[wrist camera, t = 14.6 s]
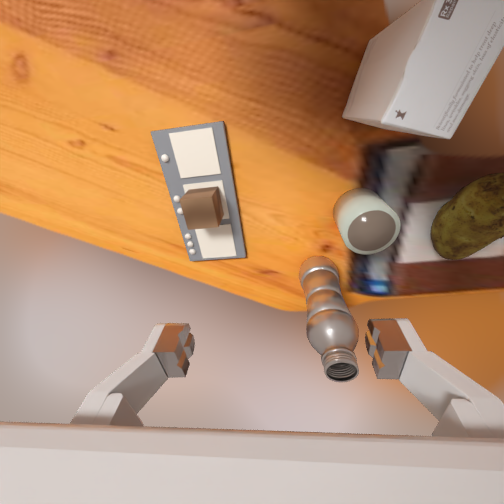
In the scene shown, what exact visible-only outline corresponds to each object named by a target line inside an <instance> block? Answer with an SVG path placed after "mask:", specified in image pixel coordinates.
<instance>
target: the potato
mask: <svg viewBox="0 0 504 504" xmlns="http://www.w3.org/2000/svg"><path fill="white" fill-rule="evenodd" d="M502 237H504V173H497V174H490V175H487V176H484V177H482V178H480V179H477V180H475V181H473V182H472V183H470V184H468V185H467V186H465V187H463V188H462V189H460V190H459V192H458V193H456V195H455V196H454V197H453V199H452V200H450V201H449V202H447V203H446V204H444V205H443V206H442V207H441V209H440V210H439V211H438V213H437V215H436V217H435V219H434V221H433V224H432V228H431V238H432V242H433V246H434V248H435V250H436V251H437V252H438V254H439V255H440V256H441V257H443V258H445V259H451V260H457V259H462V258H465V257H467V256H470V255H472V254H473V253H475V252H477V251H479V250H481V249H482V248H484V247H485V246H487V245H488V244H490V243H492V242H493V241H495V240H497V239H499V238H502Z"/></svg>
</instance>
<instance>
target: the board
mask: <svg viewBox="0 0 504 504" xmlns="http://www.w3.org/2000/svg"><path fill="white" fill-rule="evenodd" d="M151 135H152V138H153V141H154V144H155V148H156V151H157V154H158V158H159V161H160V164H161V167H162V171H163V174H164V177H165V180H166V184H167V187H168V190H169V193H170V197H171V200H172V203H173V207H174V210H175V213H176V216H177V220H178V223H179V226H180V229H181V233H182V236H183V239H184V242H185V246H186V249H187V252H188V255H189V259H190V261H200V260H214V259H229V258H243V257H246V251H245V245H244V239H243V233H242V227H241V221H240V215H239V209H238V203H237V197H236V192H235V186H234V180H233V174H232V168H231V162H230V156H229V150H228V144H227V138H226V132H225V126H224V121H220V122H213V123H206V124H199V125H192V126H186V127H179V128H172V129H165V130H158V131H152V132H151ZM217 186H218V188H219V193H220V198H221V203H222V207H223V212H224V216H223V218H222V220H221V223H220V225H219V227H216V228H204V229H193V230H188V228H187V225H186V221H185V218H184V215H183V211H182V208H181V204H180V201H179V200H180V199H181V198H182V196H183V195H184V194H185V193H186V192H187V191H188V190H190V189H199V188H208V187H217Z"/></svg>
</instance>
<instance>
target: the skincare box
mask: <svg viewBox="0 0 504 504" xmlns="http://www.w3.org/2000/svg"><path fill="white" fill-rule="evenodd" d="M503 47H504V1H503V0H421V1H420V2H418V3H417V4H416V5H415V6H413V7H412V8H411V9H409V10H408V11H407V12H405V13H404V14H403V15H402V16H400V17H399V18H398V19H397V20H395V21H394V22H393V23H391V24H390V25H389V26H388V27H386V28H385V29H384V30H382V31H381V32H380V33H379V34H377V35H376V36H375V37H373V38H372V39H371V40H370V41H369V43H368V45H367V48H366V50H365V53H364V56H363V59H362V61H361V64H360V67H359V70H358V72H357V75H356V78H355V81H354V83H353V86H352V89H351V92H350V95H349V98H348V101H347V105H346V107H345V110H344V112H343V115H342V117H343V118H345V119H348V120H352V121H356V122H359V123H363V124H367V125H370V126H374V127H378V128H382V129H387V130H392V131H399V132H405V133H411V134H416V135H422V136H428V137H435V138H443V139H451V137H452V136H453V134H454V132H455V131H456V129H457V127H458V125H459V124H460V122H461V120H462V118H463V117H464V115H465V113H466V111H467V109H468V108H469V106H470V104H471V103H472V101H473V99H474V97H475V95H476V94H477V92H478V90H479V89H480V87H481V85H482V84H483V82H484V80H485V78H486V76H487V75H488V73H489V71H490V70H491V68H492V66H493V64H494V63H495V61H496V59H497V57H498V56H499V54H500V52H501V50H502V49H503Z"/></svg>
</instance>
